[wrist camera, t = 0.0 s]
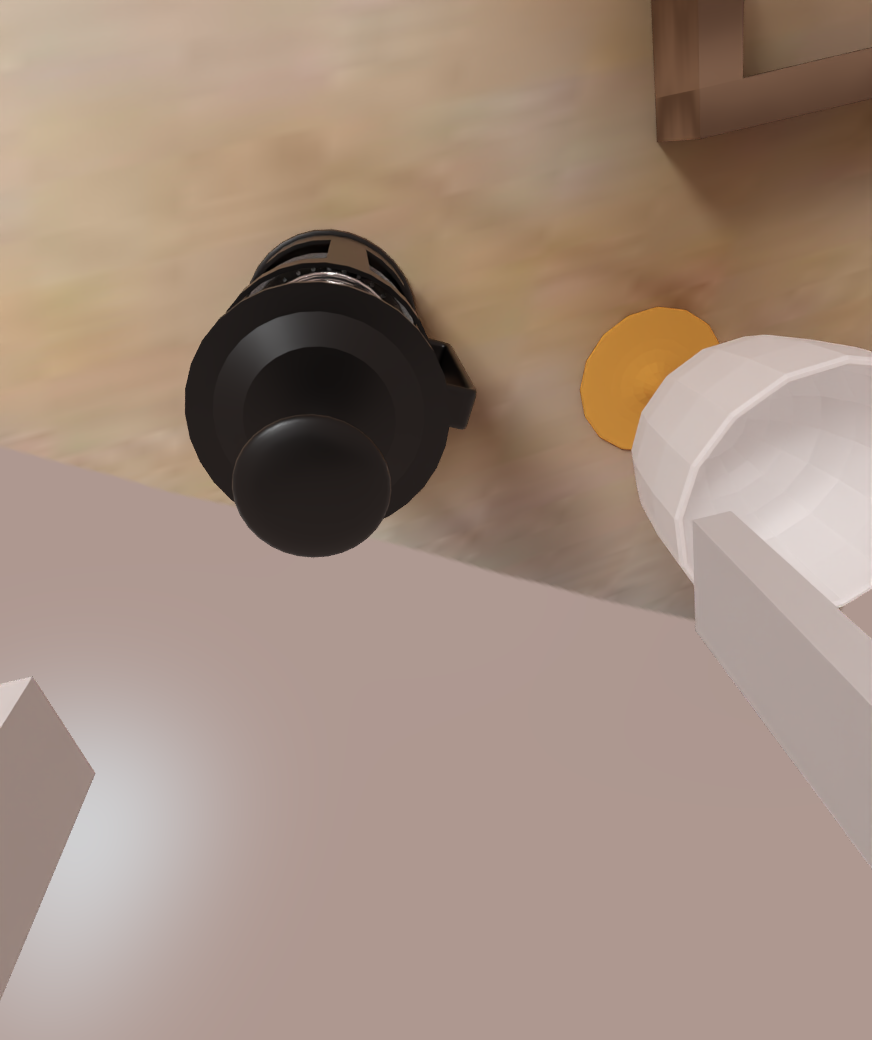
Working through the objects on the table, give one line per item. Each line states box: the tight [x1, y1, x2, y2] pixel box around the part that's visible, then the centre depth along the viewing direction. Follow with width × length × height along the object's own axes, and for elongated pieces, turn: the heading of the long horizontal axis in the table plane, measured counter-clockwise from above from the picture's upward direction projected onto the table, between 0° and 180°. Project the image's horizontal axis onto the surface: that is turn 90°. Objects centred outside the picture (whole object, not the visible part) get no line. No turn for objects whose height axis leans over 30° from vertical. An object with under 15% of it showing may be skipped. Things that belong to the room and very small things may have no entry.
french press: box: [185, 229, 476, 557], centre depth 28 cm, size 12×9×23 cm
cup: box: [580, 307, 872, 608], centre depth 34 cm, size 12×12×17 cm
